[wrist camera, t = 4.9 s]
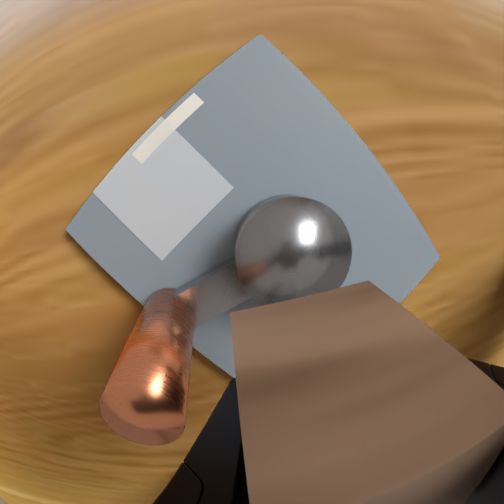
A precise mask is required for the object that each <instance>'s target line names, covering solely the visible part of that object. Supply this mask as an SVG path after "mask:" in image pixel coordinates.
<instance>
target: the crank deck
mask: <svg viewBox="0 0 504 504" xmlns="http://www.w3.org/2000/svg"><path fill="white" fill-rule="evenodd" d="M284 194H290V195H297V196H301V197H305V198H309V199H313V200H316V201H319V202H321V203H323V204H325V205H327V206H328V207H330V208H331V209H332V210H333V211H335V212H336V213H337V214H338V215H339V217H340V218H341V219H342V221H343V222H344V224H345V226H346V228H347V230H348V232H349V235H350V239H351V245H352V259H351V265H350V268H349V272H348V274H347V276H346V279H345V280H344V282H343V284H342V286H341V287H345V286H349V285H353V284H356V283H360V282H364V281H368V280H369V281H370V282H372V283H373V284H374V285H376V286H377V287H378V288H379V289H381V290H382V291H383V292H385V293H386V294H387V295H389V296H390V297H391V298H393V299H394V300H395V301H396V302H398V303H400V302H401V301H402V300H403V299H404V298H405V297H406V296H407V295H408V294H409V293H410V292H411V291H412V290H413V289H414V287H415V286H416V285H417V284H418V283H419V282H420V281H421V280H422V279H423V277H424V276H425V275H426V274H427V273H428V272H429V271H430V269H431V268H432V267H433V266H434V265H435V264H436V262H437V261H438V260H439V259H440V256H439V254H438V252H437V250H436V249H435V247H434V245H433V243H432V242H431V240H430V238H429V237H428V235H427V233H426V232H425V230H424V228H423V227H422V225H421V223H420V222H419V220H418V218H417V217H416V215H415V214H414V212H413V211H412V209H411V208H410V206H409V204H408V203H407V201H406V200H405V198H404V197H403V195H402V194H401V192H400V191H399V190H398V188H397V187H396V185H395V184H394V182H393V181H392V179H391V178H390V177H389V175H388V174H387V172H386V171H385V170H384V168H383V167H382V166H381V164H380V163H379V162H378V160H377V159H376V158H375V156H374V155H373V154H372V152H371V151H370V150H369V148H368V147H367V146H366V145H365V143H364V142H363V141H362V140H361V138H360V137H359V136H358V135H357V133H356V132H355V131H354V130H353V129H352V127H351V126H350V125H349V124H348V123H347V121H346V120H345V119H344V118H343V117H342V116H341V114H340V113H339V112H338V111H337V110H336V109H335V108H334V106H333V105H332V104H331V103H330V102H329V101H328V100H327V99H326V98H325V96H324V95H323V94H322V93H321V92H320V91H319V90H318V89H317V88H316V87H315V86H314V85H313V84H312V83H311V82H310V81H309V80H308V78H307V77H306V76H305V75H304V74H303V73H302V72H301V71H300V70H299V69H298V68H297V67H296V66H295V65H294V64H292V63H291V62H290V61H289V60H288V59H287V58H286V57H285V56H284V55H283V54H282V53H281V52H280V51H279V50H278V49H277V48H276V47H274V46H273V45H272V44H271V43H270V42H269V41H268V40H267V39H265V38H264V37H263V36H262V35H261V34H260V35H258V36H257V37H255V38H254V39H253V40H251V41H250V42H248V43H247V44H246V45H244V46H243V47H242V48H240V49H239V50H238V51H236V52H235V53H234V54H232V55H231V56H230V57H229V58H227V59H226V60H225V61H223V62H222V63H221V64H220V65H219V66H217V67H216V68H215V69H214V70H212V71H211V72H210V73H209V74H208V75H206V76H205V77H204V78H203V79H202V80H201V81H199V82H198V83H197V84H196V85H195V86H194V87H193V88H191V89H190V90H189V91H188V92H187V93H186V94H185V95H184V96H182V97H181V98H180V99H179V100H178V101H177V102H176V103H175V104H174V105H173V106H172V107H171V108H170V109H169V110H168V111H167V112H165V113H164V114H163V115H162V116H161V117H160V118H159V119H158V120H157V121H156V122H155V123H154V124H153V125H152V126H151V127H150V128H149V129H148V130H147V131H146V132H145V133H144V134H143V135H142V136H141V137H140V138H139V139H138V140H137V142H136V143H135V144H134V145H133V146H132V147H131V148H130V149H129V150H128V151H127V152H126V154H125V155H124V156H123V157H122V158H121V159H120V160H119V161H118V163H117V164H116V165H115V166H114V167H113V168H112V170H111V171H110V172H109V173H108V174H107V175H106V177H105V178H104V179H103V180H102V181H101V183H100V184H99V185H98V186H97V188H96V189H95V190H94V191H93V193H92V194H91V196H90V197H89V198H88V199H87V201H86V202H85V203H84V205H83V206H82V207H81V209H80V210H79V211H78V213H77V214H76V215H75V217H74V218H73V219H72V221H71V222H70V224H69V225H68V226H67V228H66V229H65V230H66V231H67V232H68V233H69V234H70V235H71V236H72V237H73V238H74V239H75V240H76V241H77V242H78V244H79V245H80V246H81V247H82V248H83V249H84V250H85V251H86V252H87V253H88V254H89V255H90V256H91V257H92V258H93V259H94V260H95V261H96V262H97V263H98V264H99V265H100V266H101V267H102V268H103V269H104V270H105V271H106V272H107V273H108V274H109V275H111V276H112V277H113V278H114V279H115V280H116V281H117V282H118V283H119V284H120V285H121V286H122V287H123V288H124V289H125V290H127V291H128V292H129V293H130V294H131V295H132V296H133V297H134V298H135V299H136V300H138V301H139V302H140V303H141V304H142V305H143V306H145V304H146V302H147V300H148V298H149V297H150V296H151V295H152V294H153V293H154V292H155V291H157V290H159V289H162V288H175V289H177V288H179V287H181V286H183V285H185V284H186V283H188V282H190V281H192V280H193V279H195V278H197V277H199V276H200V275H202V274H204V273H206V272H207V271H209V270H211V269H213V268H214V267H216V266H218V265H220V264H221V263H223V262H225V261H227V260H228V259H230V258H232V257H234V250H233V246H234V238H235V233H236V230H237V228H238V226H239V224H240V222H241V220H242V218H243V217H244V216H245V214H246V213H247V212H248V211H249V210H250V209H251V208H252V207H253V206H255V205H256V204H257V203H259V202H261V201H262V200H265V199H267V198H269V197H272V196H276V195H284ZM341 287H340V288H341ZM259 306H261V305H260V304H258V303H257V302H256V301H255V300H253V299H252V298H250V299H248V300H246V301H244V302H242V303H240V304H239V305H237V306H235V307H233V308H231V309H229V310H228V311H226V312H224V313H222V314H220V315H218V316H216V317H215V318H213V319H211V320H209V321H207V322H205V323H203V324H201V325H200V326H198V327H196V328H195V331H194V339H193V348H195V349H196V350H197V351H198V352H200V353H201V354H202V355H204V356H205V357H206V358H208V359H209V360H210V361H212V362H213V363H214V364H215V365H217V366H218V367H220V368H221V369H222V370H224V371H225V372H226V373H228V374H229V375H230V376H232V377H233V378H236V375H235V365H234V353H233V342H232V330H231V318H230V312H235V311H240V310H245V309H250V308H254V307H259Z"/></svg>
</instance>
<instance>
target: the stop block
mask: <svg viewBox="0 0 504 504" xmlns="http://www.w3.org/2000/svg"><path fill="white" fill-rule="evenodd" d="M230 318H231V330H232V342H233V353H234V365H235V375H236V386H237V396H238V406H239V416H240V426H241V435H242V444H243V453H244V462H245V470H246V479H247V487H248V495H249V503H250V504H464V503H465V502H466V501H467V499H468V498H469V497H470V496H471V494H472V493H473V492H474V490H475V489H476V488H477V486H478V485H479V484H480V482H481V481H482V479H483V478H484V476H485V475H486V474H487V472H488V471H489V469H490V468H491V466H492V465H493V463H494V461H495V460H496V458H497V457H498V455H499V453H500V452H501V450H502V449H503V447H504V390H503V389H502V388H501V387H500V386H499V385H497V384H496V383H495V382H494V381H493V380H492V379H491V378H489V377H488V376H487V375H486V374H485V373H484V372H482V371H481V370H480V369H479V368H478V367H477V366H475V365H474V364H473V363H472V362H471V361H470V360H468V359H467V358H466V357H465V356H464V355H462V354H461V353H460V352H459V351H458V350H456V349H455V348H454V347H453V346H452V345H450V344H449V343H448V342H447V341H446V340H444V339H443V338H442V337H441V336H439V335H438V334H437V333H436V332H434V331H433V330H432V329H431V328H429V327H428V326H427V325H426V324H424V323H423V322H422V321H421V320H419V319H418V318H417V317H416V316H414V315H413V314H412V313H411V312H409V311H408V310H407V309H405V308H404V307H403V306H402V305H400V304H399V303H398V302H396V301H395V300H394V299H393V298H391V297H390V296H389V295H387V294H386V293H385V292H383V291H382V290H381V289H379V288H378V287H377V286H376V285H374V284H373V283H372V282H370V281H369V280H368V281H364V282H360V283H356V284H353V285H349V286H345V287H341V288H337V289H333V290H329V291H325V292H321V293H316V294H312V295H308V296H304V297H299V298H295V299H291V300H286V301H282V302H277V303H273V304H268V305H264V306H259V307H254V308H250V309H245V310H240V311H235V312H230Z"/></svg>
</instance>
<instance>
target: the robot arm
mask: <svg viewBox="0 0 504 504" xmlns="http://www.w3.org/2000/svg"><path fill="white" fill-rule="evenodd" d="M467 359H468V360H470V361H471V362H472V363H473V364H474V365H475V366H477V367H478V368H479V369H480V370H481V371H482V372H484V373H485V374H486V375H487V376H488V377H489V378H491V379H492V380H493V381H494V382H495V383H496V384H497V385H499V386H500V387H501V388H502V389H503V390H504V367H499V366H496V365H492V364H490V365H489V364H488V363H484V362H481V361H477V360H473V359H470V358H467ZM153 504H250V503H249V495H248V487H247V479H246V470H245V462H244V453H243V444H242V435H241V426H240V416H239V406H238V396H237V386H236V378H233V379H232V380H231V381H230V383H229V385H228V387H227V388H226V390H225V392H224V394H223V395H222V397H221V399H220V400H219V402H218V404H217V406H216V407H215V409H214V411H213V413H212V414H211V416H210V418H209V419H208V421H207V423H206V424H205V426H204V428H203V429H202V431H201V433H200V434H199V436H198V438H197V439H196V441H195V443H194V444H193V446H192V448H191V449H190V451H189V453H188V454H187V456H186V458H185V459H184V463H182V464H181V465H180V467H179V469H178V470H177V472H176V473H175V475H174V476H173V478H172V479H171V481H170V482H169V484H168V485H167V486H166V488H165V489H164V490H163V492H162V493H161V494H160V495H159V497H158V498H157V499H156V500H155V501H154V503H153ZM464 504H504V447H503V449H502V450H501V452H500V453H499V455H498V457H497V458H496V460H495V461H494V463H493V465H492V466H491V468H490V469H489V471H488V472H487V474H486V475H485V476H484V478H483V479H482V481H481V482H480V484H479V485H478V486H477V488H476V489H475V490H474V492H473V493H472V494H471V496H470V497H469V498H468V499H467V501H466V502H465V503H464Z"/></svg>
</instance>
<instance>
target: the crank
mask: <svg viewBox="0 0 504 504" xmlns="http://www.w3.org/2000/svg"><path fill="white" fill-rule="evenodd" d="M233 250H234V257H232V258H230V259H228V260H227V261H225V262H223V263H221V264H220V265H218V266H216V267H214V268H213V269H211V270H209V271H207V272H206V273H204V274H202V275H200V276H199V277H197V278H195V279H193V280H192V281H190V282H188V283H186V284H185V285H183V286H181V287H179V288H177V289H175V288H162V289H159V290H157V291H155V292H154V293H153V294H152V295H151V296H150V297H149V298H148V300H147V302H146V304H145V306H144V308H143V310H142V312H141V314H140V316H139V318H138V320H137V322H136V324H135V326H134V328H133V330H132V332H131V334H130V336H129V338H128V340H127V342H126V344H125V346H124V348H123V350H122V353H121V355H120V357H119V359H118V361H117V363H116V365H115V367H114V370H113V372H112V374H111V376H110V378H109V381H108V383H107V385H106V387H105V390H104V392H103V394H102V396H101V399H100V402H99V409H100V413H101V416H102V418H103V419H104V421H105V422H106V424H107V425H108V426H109V427H110V428H111V429H112V430H113V431H114V432H116V433H117V434H119V435H120V436H122V437H124V438H126V439H128V440H130V441H133V442H136V443H139V444H144V445H163V444H167V443H170V442H173V441H174V440H176V439H177V438H179V437H180V436H181V435H182V433H183V431H184V428H185V419H186V408H187V397H188V386H189V376H190V366H191V357H192V348H193V339H194V331H195V328H196V327H198V326H200V325H201V324H203V323H205V322H207V321H209V320H211V319H213V318H215V317H216V316H218V315H220V314H222V313H224V312H226V311H228V310H229V309H231V308H233V307H235V306H237V305H239V304H240V303H242V302H244V301H246V300H248V299H250V298H252V299H253V300H255V301H256V302H257V303H258V304H260V305H261V306H264V305H268V304H273V303H277V302H282V301H286V300H291V299H295V298H299V297H304V296H308V295H312V294H316V293H321V292H325V291H329V290H333V289H337V288H340V287H341V286H342V284H343V282H344V280H345V279H346V276H347V274H348V272H349V268H350V265H351V259H352V245H351V239H350V235H349V232H348V230H347V228H346V226H345V224H344V222H343V221H342V219H341V218H340V217H339V215H338V214H337V213H336V212H335V211H333V210H332V209H331V208H330V207H328V206H327V205H325V204H323V203H321V202H319V201H316V200H313V199H309V198H305V197H301V196H297V195H290V194H284V195H276V196H272V197H269V198H267V199H265V200H262V201H261V202H259V203H257V204H256V205H255V206H253V207H252V208H251V209H250V210H249V211H248V212H247V213H246V214H245V216H244V217H243V218H242V220H241V222H240V224H239V226H238V228H237V230H236V233H235V238H234V246H233Z"/></svg>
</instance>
